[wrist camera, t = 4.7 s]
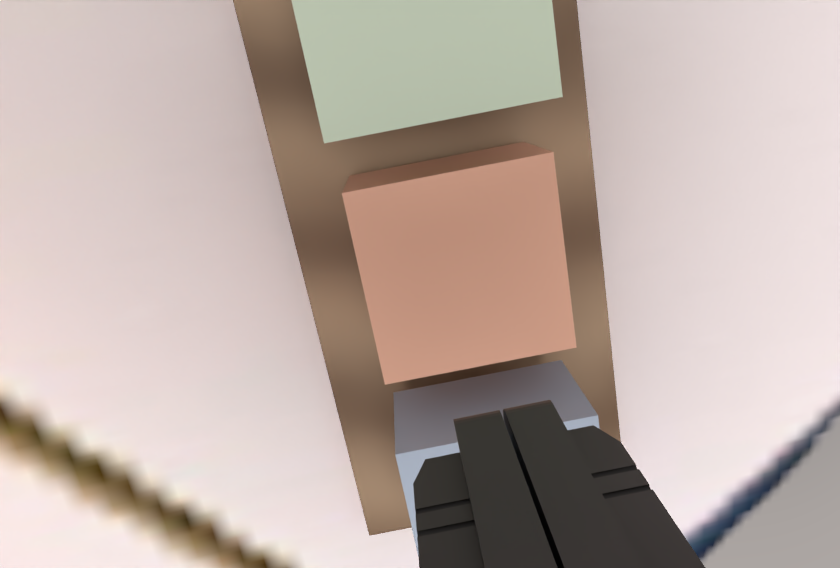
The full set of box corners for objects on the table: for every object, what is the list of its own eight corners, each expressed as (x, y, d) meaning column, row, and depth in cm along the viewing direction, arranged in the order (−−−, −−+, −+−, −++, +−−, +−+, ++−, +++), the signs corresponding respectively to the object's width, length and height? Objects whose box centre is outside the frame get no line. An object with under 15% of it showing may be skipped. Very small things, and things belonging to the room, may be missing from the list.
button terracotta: (349, 175, 21) (341, 193, 17) (523, 141, 21) (553, 151, 17) (384, 337, 23) (384, 384, 19) (545, 306, 23) (576, 347, 19)
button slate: (393, 392, 22) (395, 454, 18) (561, 360, 22) (598, 415, 18) (424, 531, 23) (431, 614, 20) (579, 502, 23) (616, 579, 20)
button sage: (287, -84, 17) (260, -134, 13) (499, -126, 17) (531, -187, 13) (336, 133, 19) (324, 143, 15) (527, 96, 19) (562, 96, 15)
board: (215, -93, 20) (186, -124, 17) (550, -159, 20) (579, -201, 17) (370, 519, 27) (368, 570, 24) (616, 472, 27) (643, 516, 24)
